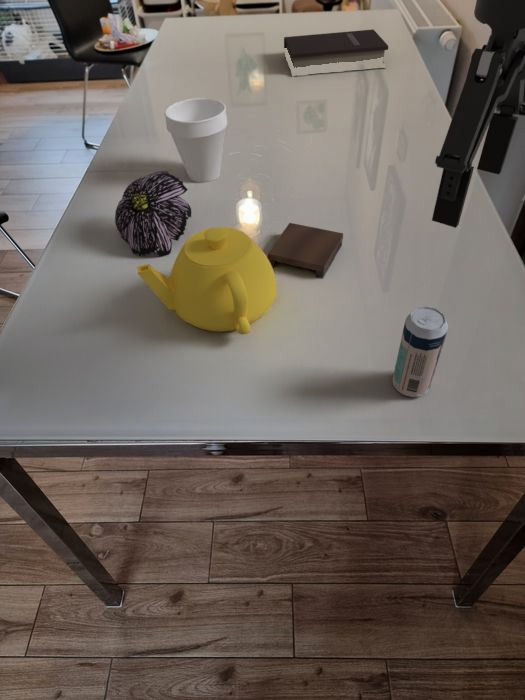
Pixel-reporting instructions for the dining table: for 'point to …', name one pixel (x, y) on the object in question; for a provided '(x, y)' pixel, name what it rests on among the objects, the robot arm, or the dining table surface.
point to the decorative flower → (152, 213)
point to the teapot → (217, 281)
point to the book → (334, 47)
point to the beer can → (419, 351)
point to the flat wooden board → (306, 248)
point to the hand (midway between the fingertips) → (468, 195)
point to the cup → (198, 135)
